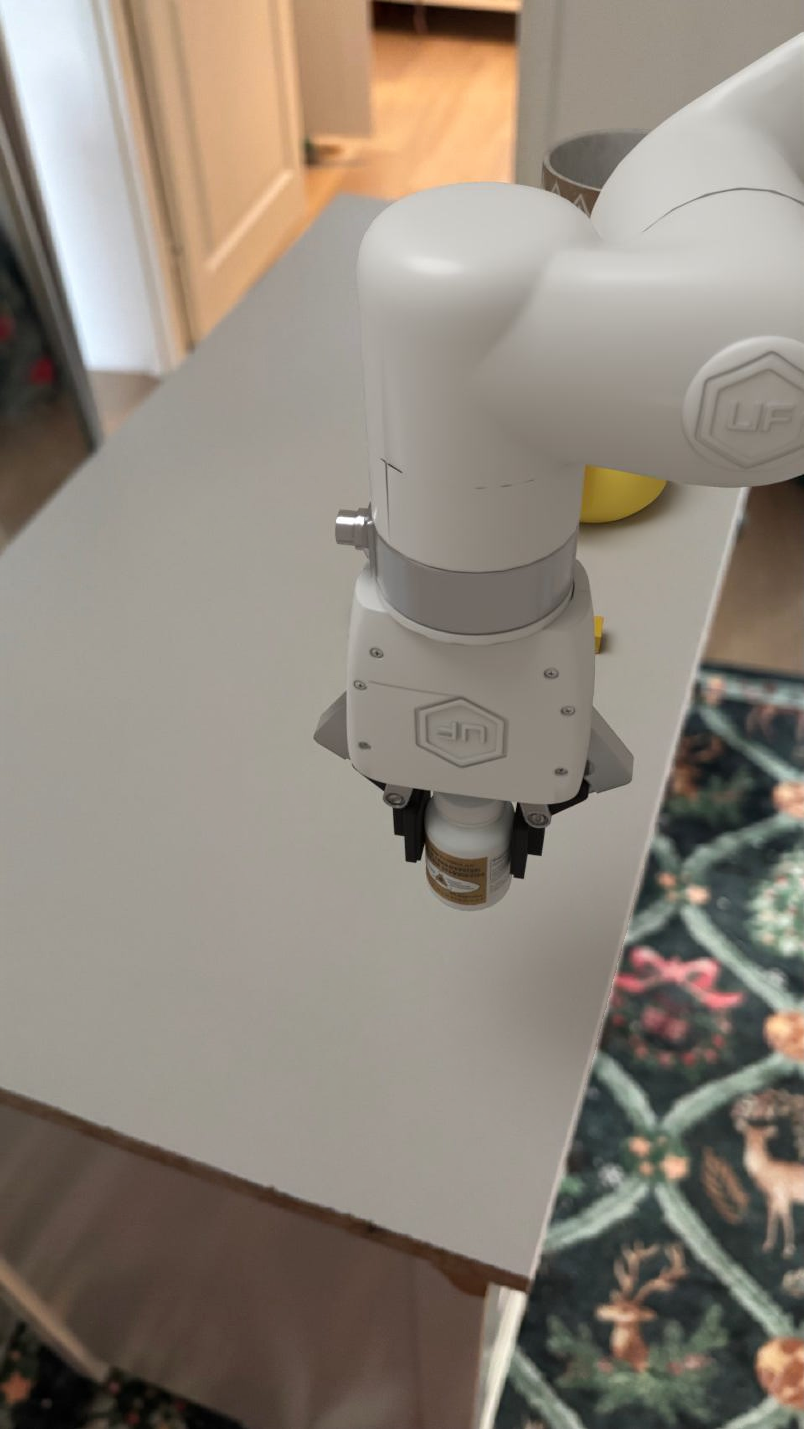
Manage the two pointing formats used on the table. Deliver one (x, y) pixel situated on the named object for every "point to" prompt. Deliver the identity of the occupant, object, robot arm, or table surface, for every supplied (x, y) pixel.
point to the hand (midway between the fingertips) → (469, 844)
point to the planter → (586, 163)
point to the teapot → (615, 494)
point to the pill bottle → (468, 849)
